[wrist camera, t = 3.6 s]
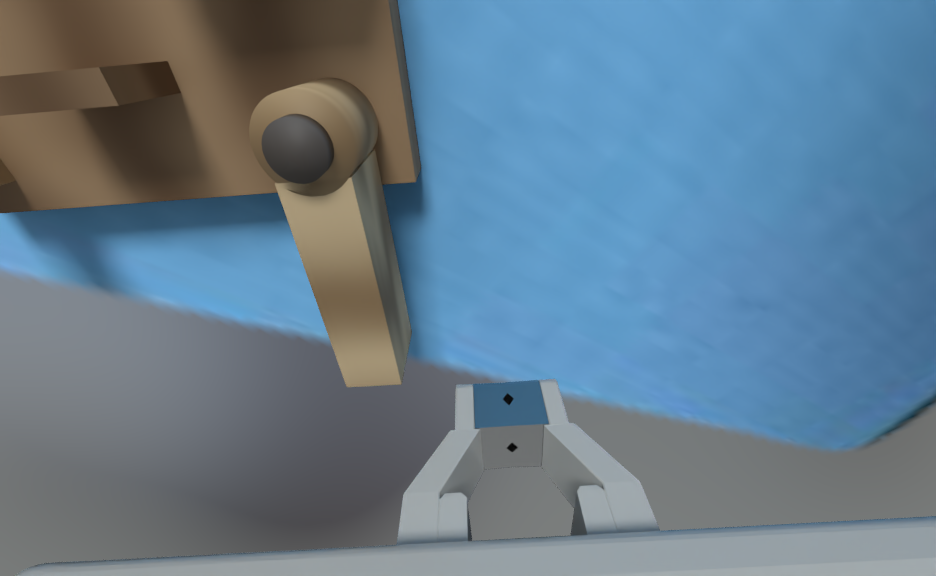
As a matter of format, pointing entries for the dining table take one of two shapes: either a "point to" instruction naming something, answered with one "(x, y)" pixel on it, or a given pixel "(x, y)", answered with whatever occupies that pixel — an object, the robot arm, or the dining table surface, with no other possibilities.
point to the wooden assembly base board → (179, 93)
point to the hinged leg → (338, 220)
